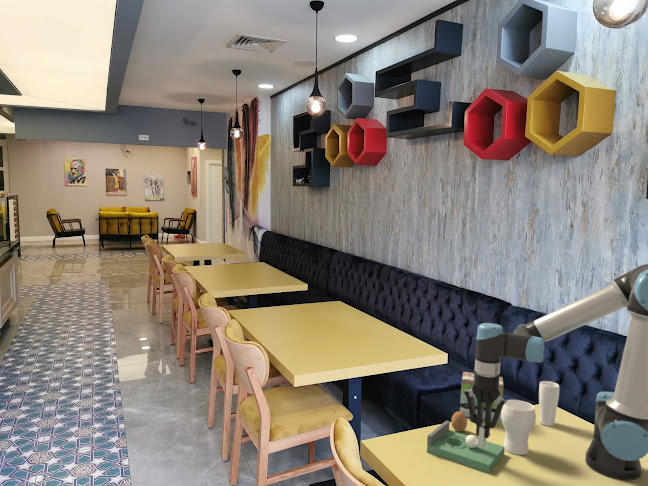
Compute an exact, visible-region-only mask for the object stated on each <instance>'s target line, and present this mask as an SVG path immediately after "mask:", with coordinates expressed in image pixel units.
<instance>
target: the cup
mask: <svg viewBox="0 0 648 486" xmlns="http://www.w3.org/2000/svg"><path fill="white" fill-rule="evenodd" d="M506 400H507V402H506V403H505V404H504V405H503V408H502V411H501V422H502V425H503V428H504V430H505V438H504V443H503V447H505V449H504V451H506V452H508V453H510V454H514V455H517V456H525V455H528V454H529V441H528V440H529V436H530V433H531V432H532V430H533V429H534V427H535V424H536V420H537V419H536V417H537V415H536V409H535V406H534V405H533V404H531V403H530V402H527V401H524V400H519V399H506Z"/></svg>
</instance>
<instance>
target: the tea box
mask: <svg viewBox="0 0 648 486" xmlns="http://www.w3.org/2000/svg"><path fill="white" fill-rule="evenodd" d="M474 373H475V372H468V371H463V372H462V378H461V379H462V380H461V389H460V391H461V392H460V402H459V404H460V405H459V411H461V412H463V413H464V414H465V416H466V418H470V413H469V407H468V401H467V398H466V396H465V393H464V392H465V391H467V390H468V389H469V390H470V389H472V387H473V385H474ZM499 377H500V378H499V392H500V396H501V397H502V398H503V399H504V379H503V378H504V377H503V376H499ZM473 394H474V393H473ZM473 397H474V403H475V409H476V415H477V406H478V405H477V398H476V397H475V395H473ZM497 401H498V399H496V400H495V401H494V402H493V405H492V414H491V422H492V419H493V416H494V414H495V411H496V408H497V406H498V403H497ZM485 410H486V407H485V403H484V410H483V421H485ZM499 422H500V423H501V422H502V419H501V414H500V416H499V419H498V422H497V423H499Z"/></svg>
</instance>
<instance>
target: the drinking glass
mask: <svg viewBox="0 0 648 486" xmlns="http://www.w3.org/2000/svg"><path fill="white" fill-rule="evenodd" d="M538 386H539V387H538V388H539V390H538V405H539V406H538V408H539V409H538V411H539V412H538V413H539V415H538V416H539V418H538V421H539V423H540V425H541V424H542V425H543V426H548V427H551V426H552V427H553V426H554V425H555V423H556V415H557V408H558V404H559V398H560V385H559V384H558V383H556V382H554V381H549V380H542V381H540V382H539V385H538Z"/></svg>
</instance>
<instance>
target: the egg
mask: <svg viewBox="0 0 648 486" xmlns="http://www.w3.org/2000/svg"><path fill="white" fill-rule="evenodd" d="M467 418H468V417H466V416H465V414H464V413H463V412H461V411H460V410H459V411H455V412H454V413H453V414H452V416H451V421H450V424H451V426H452V428H453V430H454V431H455V432H463V431H465V430H466V428H467V426H468V419H467Z"/></svg>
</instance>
